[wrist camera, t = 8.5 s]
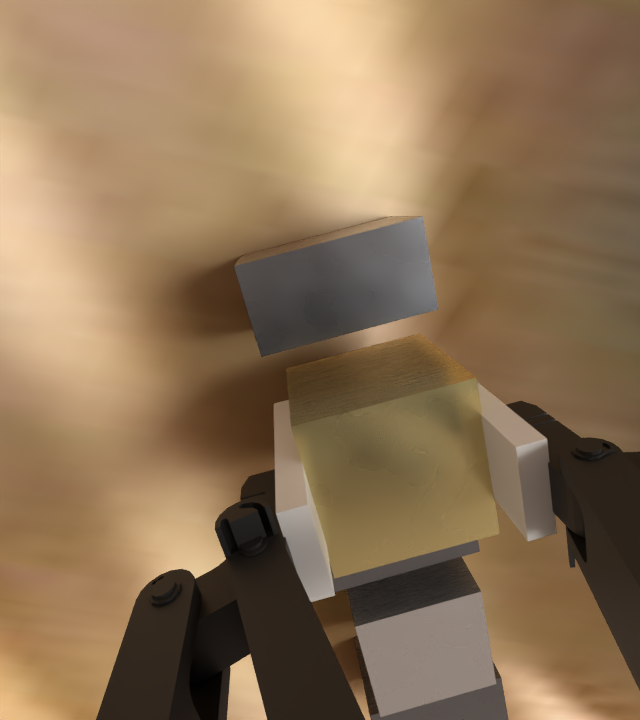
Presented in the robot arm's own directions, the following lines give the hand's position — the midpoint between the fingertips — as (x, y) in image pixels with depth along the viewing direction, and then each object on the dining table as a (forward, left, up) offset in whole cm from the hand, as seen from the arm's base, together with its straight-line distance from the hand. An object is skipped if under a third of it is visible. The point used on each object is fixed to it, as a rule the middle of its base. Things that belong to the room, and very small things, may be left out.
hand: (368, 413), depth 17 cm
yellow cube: (0, 0, 0) cm, 0 cm away
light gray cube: (0, -10, -3) cm, 11 cm away
